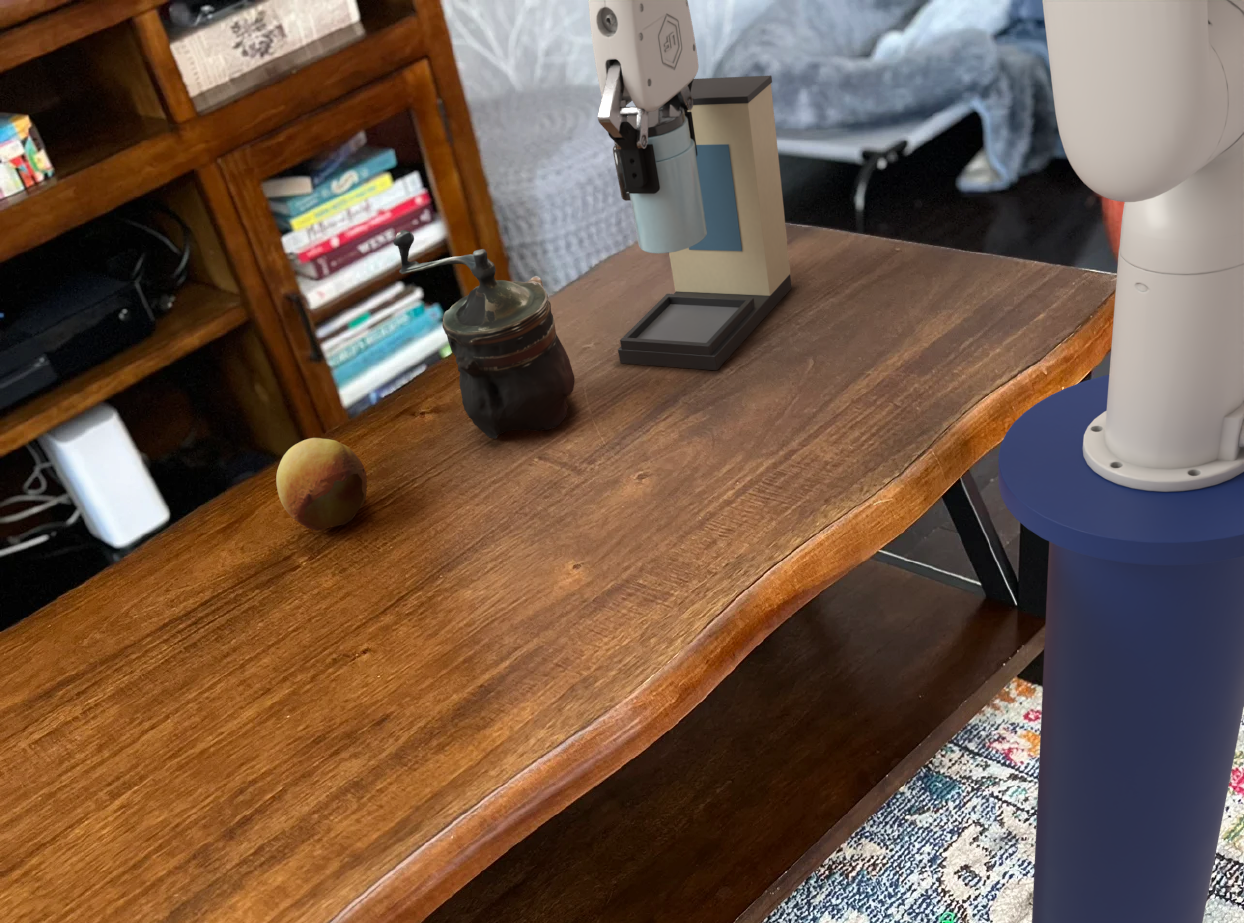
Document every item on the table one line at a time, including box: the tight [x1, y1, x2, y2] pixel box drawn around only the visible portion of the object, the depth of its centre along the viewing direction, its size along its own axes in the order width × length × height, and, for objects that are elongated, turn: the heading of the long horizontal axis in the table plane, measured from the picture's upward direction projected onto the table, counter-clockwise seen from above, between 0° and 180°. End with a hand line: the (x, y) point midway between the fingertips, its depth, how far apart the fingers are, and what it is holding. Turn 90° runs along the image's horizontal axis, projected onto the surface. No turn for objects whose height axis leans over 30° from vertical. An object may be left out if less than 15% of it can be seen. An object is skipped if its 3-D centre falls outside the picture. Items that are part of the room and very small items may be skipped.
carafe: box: [612, 105, 707, 255], centre depth 119 cm, size 7×8×11 cm
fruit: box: [275, 437, 368, 532], centre depth 115 cm, size 8×8×8 cm
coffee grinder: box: [392, 229, 576, 440], centre depth 119 cm, size 13×15×18 cm
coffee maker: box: [617, 75, 793, 371], centre depth 124 cm, size 18×11×20 cm, turn 150°
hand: (662, 173), depth 118 cm, fingers closed on carafe, 6 cm apart
